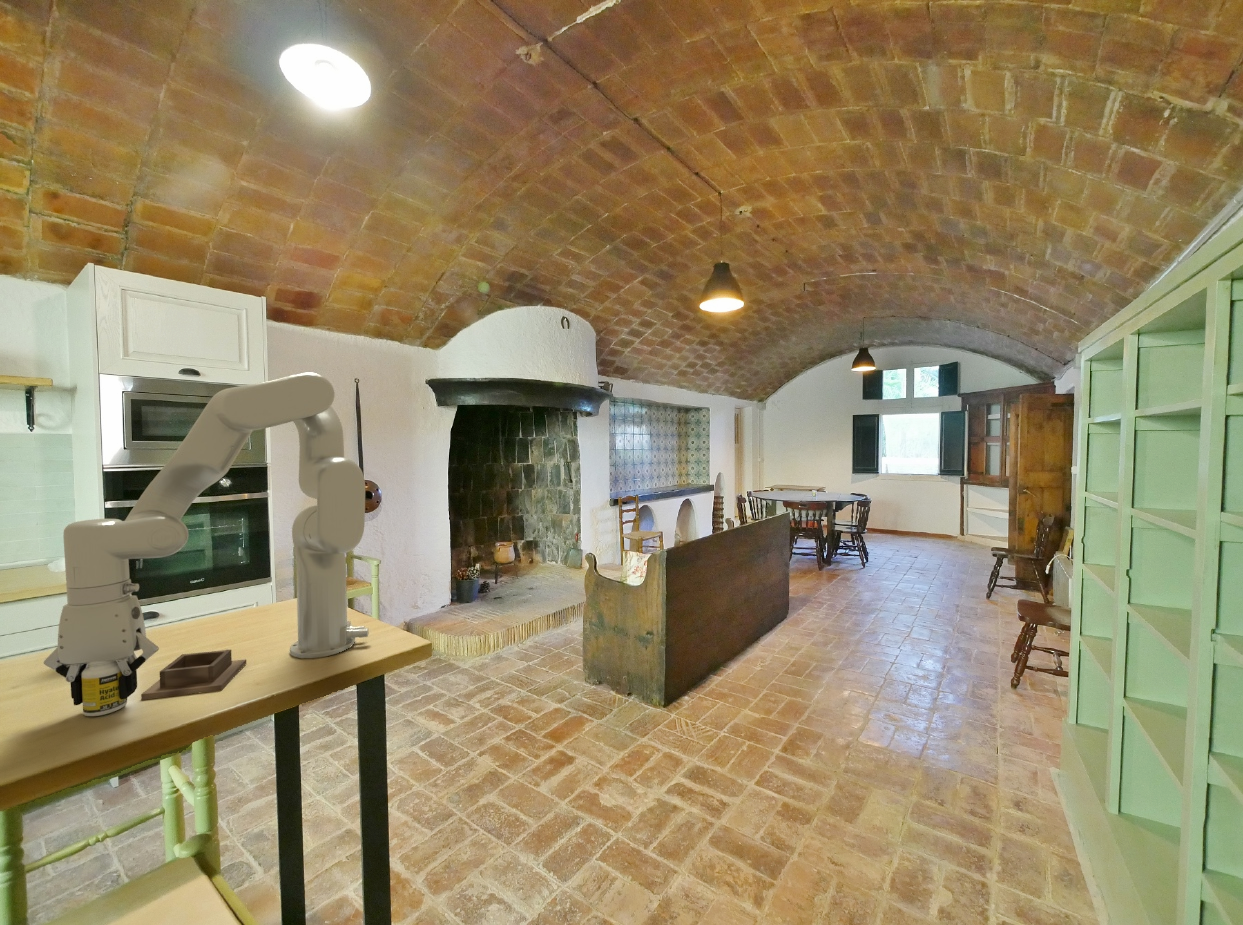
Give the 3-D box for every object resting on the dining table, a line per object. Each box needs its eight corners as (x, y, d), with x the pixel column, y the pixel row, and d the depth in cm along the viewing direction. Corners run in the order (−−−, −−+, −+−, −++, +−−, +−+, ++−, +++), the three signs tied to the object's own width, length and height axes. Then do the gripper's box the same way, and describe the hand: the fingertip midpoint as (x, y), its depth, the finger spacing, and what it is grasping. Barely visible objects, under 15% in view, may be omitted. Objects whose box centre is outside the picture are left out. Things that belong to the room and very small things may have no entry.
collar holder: (246, 664, 108) (245, 645, 108) (221, 690, 96) (221, 669, 96) (175, 671, 104) (175, 651, 104) (141, 699, 93) (140, 677, 93)
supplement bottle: (99, 719, 86) (96, 660, 86) (74, 715, 87) (71, 657, 87) (136, 702, 91) (133, 647, 91) (111, 699, 92) (108, 645, 92)
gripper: (172, 582, 94) (177, 681, 95) (50, 591, 89) (57, 696, 90) (149, 594, 87) (155, 701, 88) (15, 605, 82) (22, 718, 83)
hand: (105, 697), depth 89 cm, fingers closed on supplement bottle, 5 cm apart
